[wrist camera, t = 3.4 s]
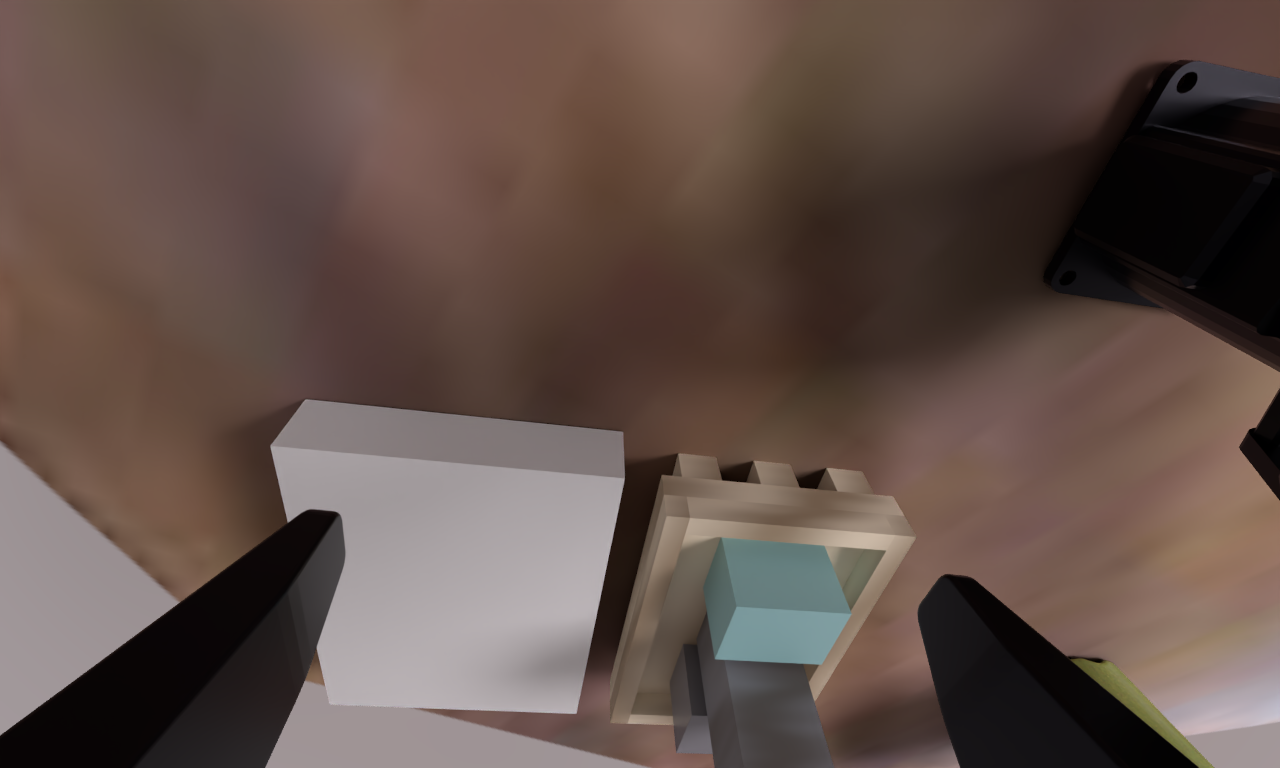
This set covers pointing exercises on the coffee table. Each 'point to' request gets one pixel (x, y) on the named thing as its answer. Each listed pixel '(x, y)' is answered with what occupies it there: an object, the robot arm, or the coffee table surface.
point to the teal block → (773, 602)
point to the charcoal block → (689, 704)
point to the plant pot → (1139, 705)
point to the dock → (456, 552)
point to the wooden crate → (676, 610)
